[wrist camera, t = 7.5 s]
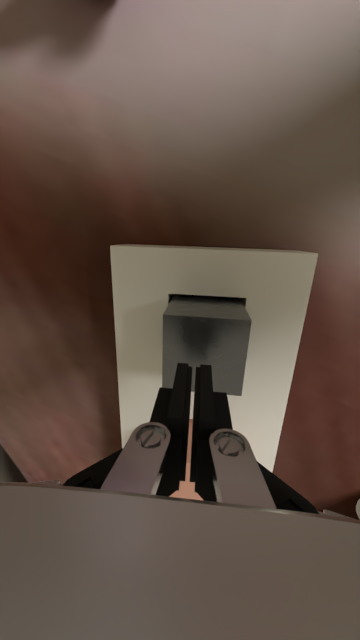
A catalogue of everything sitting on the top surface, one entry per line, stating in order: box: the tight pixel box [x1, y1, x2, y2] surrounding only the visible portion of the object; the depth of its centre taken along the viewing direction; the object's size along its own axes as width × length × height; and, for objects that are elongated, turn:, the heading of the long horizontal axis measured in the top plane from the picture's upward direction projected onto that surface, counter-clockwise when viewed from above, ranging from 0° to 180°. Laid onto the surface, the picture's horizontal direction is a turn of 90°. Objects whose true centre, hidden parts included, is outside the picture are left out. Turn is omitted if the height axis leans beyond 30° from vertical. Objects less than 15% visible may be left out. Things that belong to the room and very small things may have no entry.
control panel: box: [110, 244, 318, 472], centre depth 24 cm, size 14×34×4 cm, turn 178°
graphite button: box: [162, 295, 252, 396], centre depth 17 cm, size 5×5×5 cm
